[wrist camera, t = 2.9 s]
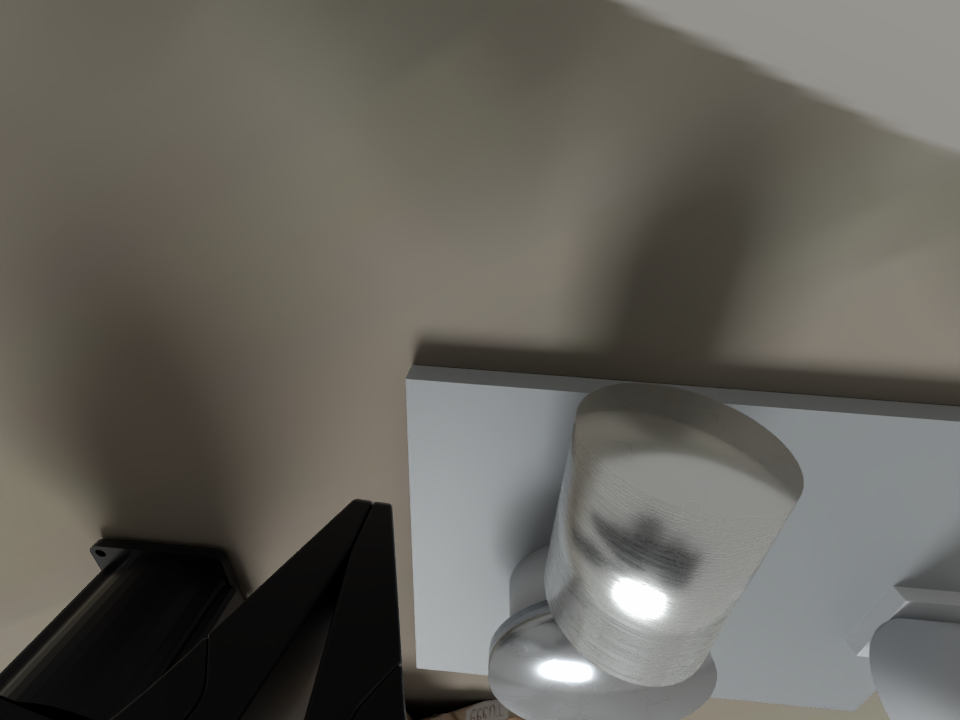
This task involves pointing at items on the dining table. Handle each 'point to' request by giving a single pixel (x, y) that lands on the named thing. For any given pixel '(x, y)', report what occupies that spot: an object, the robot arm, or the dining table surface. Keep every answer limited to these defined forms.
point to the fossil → (477, 713)
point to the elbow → (645, 557)
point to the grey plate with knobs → (778, 581)
